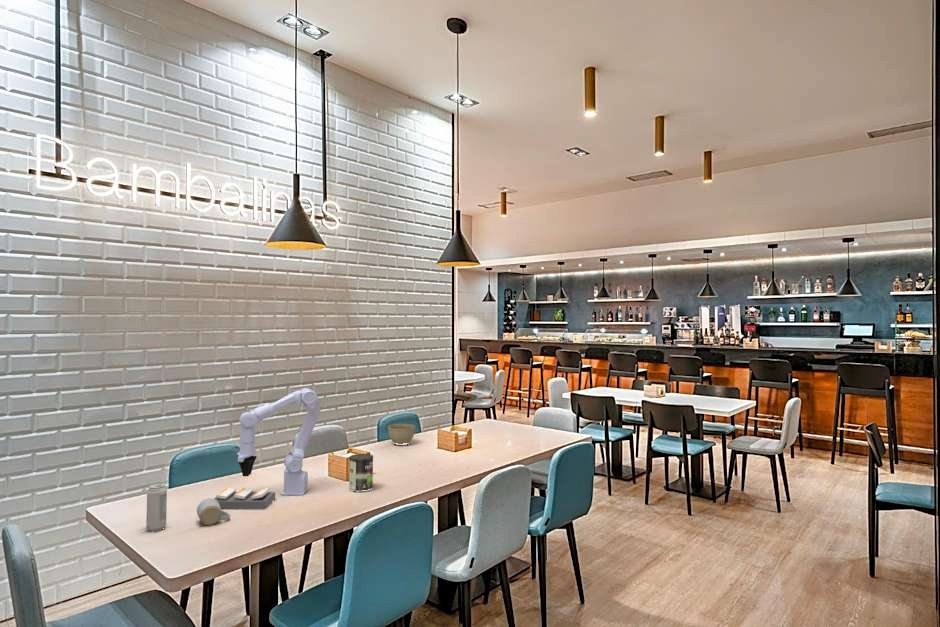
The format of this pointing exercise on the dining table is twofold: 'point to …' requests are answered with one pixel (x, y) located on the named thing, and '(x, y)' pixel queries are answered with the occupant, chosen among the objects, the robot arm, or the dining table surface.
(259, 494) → the rocker
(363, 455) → the coffee can
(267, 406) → the robot arm
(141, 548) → the dining table surface
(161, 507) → the energy drink can
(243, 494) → the rocker middle
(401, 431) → the planter bowl
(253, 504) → the switch panel
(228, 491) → the rocker
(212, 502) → the ceramic mug
